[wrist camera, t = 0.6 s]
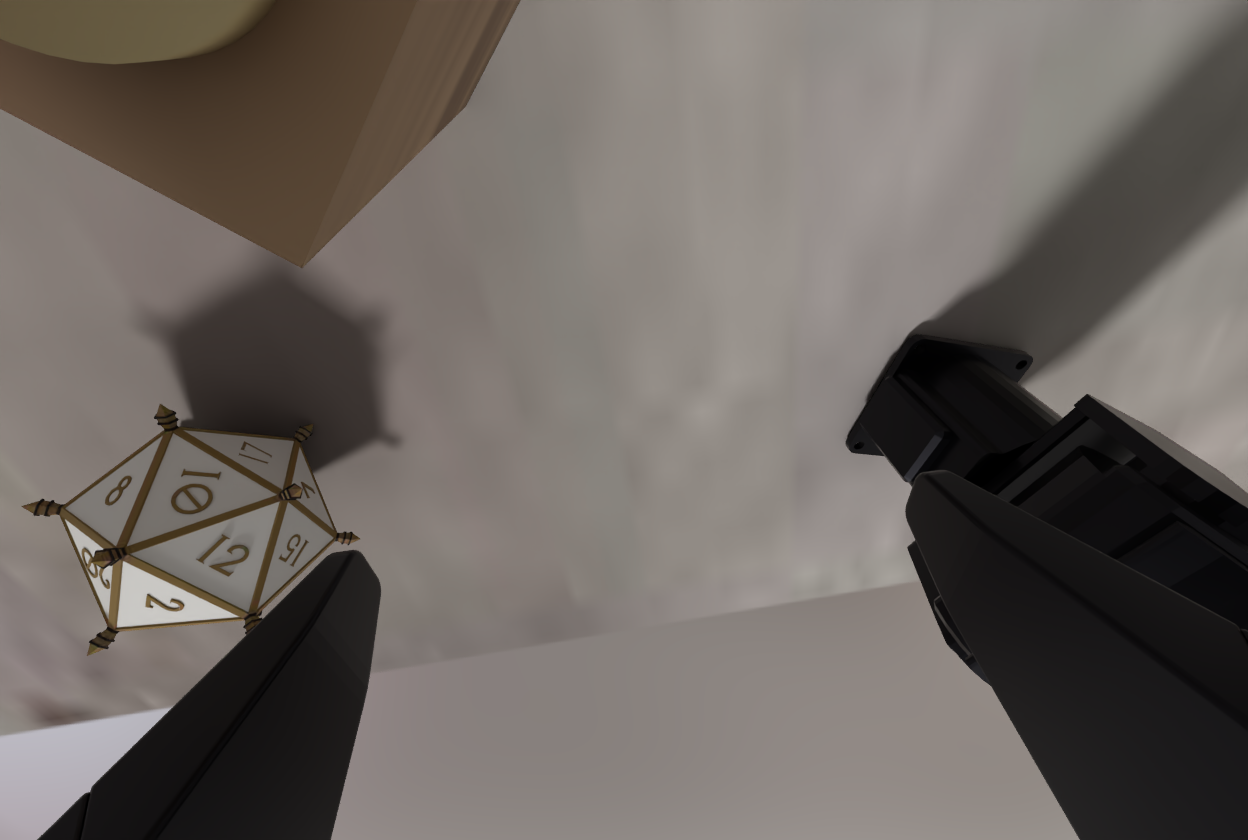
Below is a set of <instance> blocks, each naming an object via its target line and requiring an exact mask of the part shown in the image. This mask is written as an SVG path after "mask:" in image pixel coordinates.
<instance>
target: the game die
mask: <svg viewBox="0 0 1248 840" xmlns="http://www.w3.org/2000/svg"><path fill="white" fill-rule="evenodd" d="M175 414H176V412H174V411H172V410H169V409H167V408H166V407H164V406H163V405H161V404H160V405H159V408H158V412H157V414H156V415H155V417H154V419H157V420H158V423H157V424H158V425H161V426H162V427H163V428H164V431H162V432H161V433H160V434H158V435H157V436H156V437H154V438H153V439H151V440H150V441H149V442H147V443H146V444H145V445H143V446H142V447H141V448H139V449H138V450H137V451H135V452H134V453H133V454H131V455H130V456H129V457H127V458H126V459H125V460H123V461H122V462H121V463H119V464H118V465H117V466H115V467H114V468H113V469H111V470H110V471H109V472H107V473H106V474H105V475H103V476H102V477H101V478H99V479H98V480H97V481H95V482H94V483H93V484H91V485H90V486H89V487H87V488H86V489H85V490H83V491H82V492H81V493H79V494H78V495H77V496H75V497H74V498H73V499H71V500H70V501H69V502H67V503H66V504H63V505H60V504H57V503H55V502H54V500H52V501H51V502H49V501H44V499H41V500H40V501H38V502H34V503H31V504H28V505H24V506H21V507H23V508H25V509H27V510H28V511H30V512H32V513H33V514H34V516H39V515H44V516H50V515H60V517H61V520H62V522H63V524H64V527H65V529H66V531H67V533H68V536H69V538H70V540H71V543H72V545H73V547H74V550H75V552H76V554H77V557H78V559H79V561H80V564H81V566H82V568H83V570H84V573H85V575H86V577H87V580H88V582H89V584H90V587H91V589H92V591H93V594H94V596H95V598H96V600H97V603H98V605H99V607H100V610H101V612H102V614H103V617H104V619H105V621H106V624H107V626H108V627H107V629H106V630H105V631H103V632H102V633H101V632H100V633H98V634H97V635H96V636H97V637H96V638H95V639H92V640H90V641H89V643H90V646H89V650H88V654H87V656H88V655H91V654H93V653H96V652H98V651H101V650H103V649H108V648H109V647H108V645H109V644H110V643H111V642H114V641H115V640H114V638H115V636H116V634H117V633H118V632H120V631H131V630H142V629H153V628H164V627H176V626H187V625H198V624H209V623H220V622H231V621H242V620H245V626H243V627H244V628H245V629H246V631H247V632H245V634H248V633H249V632H250V631H251V630H252V629H253V628H254V627H255V626H256V625H257V624H258V623H259V622H260V621H261V620H262V618H259V616H260V615H261V614H262V610H263V609H264V608H265V607H266V606H267V605H268V604H269V603H270V602H271V601H272V600H273V599H274V598H275V597H277V596H278V595H279V594H280V593H281V592H282V591H283V590H284V589H285V588H286V587H287V586H288V585H289V584H290V583H291V582H292V581H293V580H294V579H296V578H297V577H298V576H299V575H300V574H301V573H302V572H303V571H304V570H305V569H306V568H307V567H308V566H309V565H310V564H311V563H312V562H313V561H314V560H316V559H317V558H318V557H319V556H320V555H321V554H322V553H323V552H324V551H325V550H326V549H327V548H328V547H329V546H330V545H331V544H332V543H333V542H335V541H338V542H341V544H343V543H346V544H348V545H349V544H350V543H352V542H355V541H357V540H359V539H360V538H358V537H357V536H356V535H354V534H353V532H350V533H346V532H344V533H337V531H336V529H335V526H334V524H333V521H332V519H331V517H330V514H329V512H328V509H327V507H326V504H325V502H324V499H323V497H322V495H321V492H320V490H319V487H318V485H317V482H316V480H315V477H314V475H313V473H312V470H311V468H310V465H309V463H308V460H307V458H306V455H305V453H304V451H303V448H302V446H301V442H302V441H303V440H307V438H308V436H309V435H310V436H311V435H312V433H311V432H312V428H313V424H311V425H307V426H303V427H301V426H300V427H299V428H300V429H299V430H298V431H295V432H296V434H295V436H294V437H293V438H287V437H277V436H267V435H257V434H247V433H237V432H227V431H218V430H208V429H198V428H188V427H178V426H177V421H178V418H176V417H175Z"/></svg>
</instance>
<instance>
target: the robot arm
mask: <svg viewBox="0 0 1248 840" xmlns="http://www.w3.org/2000/svg"><path fill="white" fill-rule="evenodd" d="M918 345H920V346H919V347H918V348H916V347H917V346H918ZM915 348H916V349H915ZM1032 362H1033V358H1032V357H1031V356H1030V355H1028V354H1027V353H1026V352H1024V351H1019V350H1013V349H1007V348H1001V347H995V346H989V345H982V344H976V343H970V342H964V341H958V340H952V339H945V338H939V337H933V336H927V335H915V336H912V337H911V338H909V339H908V340H907V341H906V343H905V344H904V346H903V347H902V349H901V351H900V352H899V354H898V356H897V357H896V359H895V361H894V362H893V364H892V366H891V367H890V369H889V370H888V372H887V374H886V375H885V377H884V379H883V380H882V382H881V384H880V385H879V387H878V389H877V390H876V392H875V394H874V395H873V397H872V398H871V400H870V402H869V403H868V405H867V407H866V408H865V410H864V412H863V413H862V415H861V417H860V418H859V420H858V422H857V423H856V425H855V427H854V428H853V430H852V431H851V433H850V435H849V436H848V438H847V440H846V446H847V447H848V449H849V450H850V451H851V452H852V453H858V454H868V455H878V456H885V457H886V458H887V460H888V461H889V462H890V464H891V465H892V466H893V467H894V469H895V470H896V471H897V473H898V474H899V475H900V476H901V478H902V479H903V480H904V481H905V482H909V483H910V485H911V486H912V490H911V493H910V496H909V499H908V502H907V504H906V511H905V512H906V518H907V522H908V524H909V526H910V529H911V531H912V533H913V535H914V538H915V541H914V542H913V543H912V544H910V545H909V546H908V547H907V548H908V551H909V553H910V556H911V558H912V561H913V563H914V566H915V568H916V571H917V573H918V576H919V578H920V581H921V583H922V586H923V588H924V591H925V593H926V596H927V598H928V601H929V603H930V606H931V608H932V611H933V613H934V615H935V618H936V620H937V623H938V625H939V627H940V629H941V632H942V634H943V637H944V639H945V641H946V643H947V645H948V646H949V647H950V648H951V649H952V650H953V651H954V652H956V653H957V654H958V656H959V657H960V658H961V659H962V660H963V661H964V662H965V664H966V665H967V666H968V667H969V668H970V669H971V670H972V671H973V672H974V673H976V674H977V675H978V676H979V677H980V678H981V679H982V680H983V681H985V682H986V683H988V684H989V685H990V686H991V687H992V688H993V690H994V692H995V694H996V695H997V697H998V699H999V701H1000V702H1001V704H1002V706H1003V708H1004V709H1005V711H1006V712H1007V714H1008V716H1009V718H1010V720H1011V721H1012V723H1013V725H1014V727H1015V728H1016V730H1017V732H1018V734H1019V735H1020V737H1021V739H1022V740H1023V742H1024V744H1025V746H1026V747H1027V749H1028V751H1029V752H1030V754H1031V756H1032V758H1033V760H1034V761H1035V763H1036V765H1037V766H1038V768H1039V770H1040V772H1041V773H1042V775H1043V777H1044V779H1045V780H1046V782H1047V784H1048V785H1049V787H1050V789H1051V791H1052V792H1053V794H1054V796H1055V798H1056V799H1057V801H1058V803H1059V805H1060V806H1061V808H1062V810H1063V811H1064V813H1065V815H1066V817H1067V818H1068V820H1069V822H1070V824H1071V825H1072V827H1073V829H1074V831H1075V832H1076V834H1077V836H1078V837H1079V839H1080V840H1248V493H1247V492H1245V491H1244V490H1243V489H1242V488H1240V487H1239V486H1238V485H1237V484H1235V483H1234V482H1233V481H1232V480H1230V479H1229V478H1228V477H1227V476H1225V475H1224V474H1223V473H1221V472H1220V471H1219V470H1217V469H1216V468H1214V467H1213V466H1211V465H1209V464H1208V463H1206V462H1205V461H1203V460H1202V459H1200V458H1199V457H1197V456H1195V455H1194V454H1192V453H1191V452H1189V451H1188V450H1186V449H1185V448H1183V447H1182V446H1180V445H1178V444H1177V443H1175V442H1174V441H1172V440H1171V439H1169V438H1168V437H1166V436H1164V435H1163V434H1161V433H1160V432H1158V431H1156V430H1155V429H1153V428H1151V427H1149V426H1147V425H1145V424H1143V423H1142V422H1140V421H1138V420H1136V419H1134V418H1132V417H1130V416H1128V415H1127V414H1125V413H1123V412H1121V411H1119V410H1117V409H1115V408H1113V407H1111V406H1110V405H1108V404H1106V403H1104V402H1102V401H1100V400H1098V399H1096V398H1094V397H1093V396H1091V395H1089V394H1086V395H1085V396H1084V397H1083V398H1082V399H1080V400H1079V401H1078V402H1077V403H1076V404H1075V405H1074V406H1075V408H1074V409H1073V410H1072V411H1071V412H1069V413H1068V414H1067V415H1066V416H1065V417H1064V418H1062V417H1061V416H1060V415H1058V414H1057V413H1056V412H1054V411H1053V410H1052V409H1050V408H1049V407H1048V406H1047V405H1045V404H1044V403H1043V402H1041V401H1040V400H1039V399H1037V398H1036V397H1035V396H1033V395H1032V394H1031V393H1030V392H1028V391H1027V390H1026V389H1024V388H1023V387H1022V386H1020V385H1019V384H1018V383H1017V382H1018V381H1019V380H1020V378H1021V377H1022V376H1023V375H1024V373H1025V372H1026V371H1027V370H1028V368H1029V367H1030V366H1031V364H1032ZM856 443H857V444H856ZM380 597H381V586H380V582H379V579H378V577H377V576H376V574H375V573H374V571H373V570H372V568H371V567H370V565H369V563H368V562H367V560H366V559H365V557H364V556H363V554H362V553H361V552H359V551H357V550H349V551H342V552H335V553H332V554H330V555H328V556H327V557H326V558H325V559H324V560H322V561H321V562H320V563H319V564H318V565H317V566H316V567H315V568H314V569H313V570H312V571H311V572H310V573H309V574H308V575H307V576H306V577H305V578H304V579H303V580H302V581H301V582H300V583H299V584H298V585H297V586H296V587H295V588H294V589H293V590H292V591H291V592H290V593H289V594H288V595H287V596H286V597H285V598H284V599H283V600H282V601H281V602H280V603H279V604H278V605H277V606H276V607H275V608H274V609H273V610H271V611H270V612H269V613H268V614H267V615H266V616H265V617H264V618H263V619H262V620H261V621H260V622H259V623H258V624H257V625H256V626H255V627H254V628H253V629H252V630H251V631H250V632H249V633H248V634H247V635H246V636H245V637H244V638H243V639H242V640H241V641H240V642H239V643H238V644H237V645H236V646H235V647H234V648H233V649H232V650H231V651H230V652H229V653H228V654H227V655H226V656H225V657H224V658H223V659H222V660H220V661H219V662H218V663H217V664H216V665H215V666H214V667H213V668H212V669H211V670H210V671H209V672H208V673H207V674H206V675H205V676H204V677H203V678H202V679H201V680H200V681H199V682H198V683H197V684H196V685H195V686H194V687H193V688H192V689H191V690H190V691H189V692H188V693H187V694H186V695H185V696H184V697H183V698H182V699H181V700H180V701H179V702H178V703H177V704H176V705H175V706H174V707H173V708H172V709H171V710H169V711H168V713H167V714H165V715H164V716H163V717H162V718H161V720H159V721H158V722H157V723H156V724H155V725H154V726H153V727H152V728H151V729H150V730H149V731H148V732H147V733H146V734H145V735H144V736H143V737H142V738H141V739H140V740H139V741H138V742H137V743H136V744H135V745H134V746H133V747H132V748H131V749H130V750H129V751H128V752H127V753H126V754H125V755H124V756H123V757H122V758H121V759H120V760H119V761H117V763H115V764H114V765H113V766H112V767H111V768H110V769H109V771H107V772H106V773H105V774H104V775H103V776H102V777H101V778H100V779H99V780H98V781H97V782H96V783H95V784H94V785H93V786H92V788H91V791H90V792H88V793H85V794H84V795H83V796H82V797H80V799H78V800H77V801H76V802H75V804H74V805H72V806H71V807H70V808H69V809H68V810H67V811H66V812H65V813H64V814H63V815H62V816H61V817H60V818H59V819H58V820H57V821H56V822H55V823H54V824H53V825H52V826H51V827H50V828H49V829H48V830H47V831H46V832H45V833H44V834H43V835H41V837H39V838H38V839H37V840H331V836H332V832H333V828H334V824H335V820H336V816H337V812H338V807H339V804H340V800H341V796H342V791H343V787H344V783H345V779H346V775H347V771H348V767H349V763H350V759H351V755H352V751H353V747H354V743H355V739H356V735H357V731H358V727H359V723H360V718H361V715H362V711H363V707H364V702H365V698H366V693H367V689H368V683H369V677H370V671H371V663H372V656H373V649H374V641H375V634H376V627H377V619H378V612H379V605H380Z"/></svg>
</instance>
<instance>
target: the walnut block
mask: <svg viewBox="0 0 1248 840" xmlns="http://www.w3.org/2000/svg"><path fill="white" fill-rule="evenodd" d="M519 2H520V0H0V109H2V110H4V111H6V112H8V113H10V114H11V115H13V116H15V117H17V118H19V119H21V120H23V121H25V122H27V123H28V124H30V125H32V126H34V127H36V128H38V129H40V130H42V131H44V132H45V133H47V134H49V135H51V136H53V137H55V138H57V139H59V140H61V141H62V142H64V143H66V144H68V145H70V146H72V147H74V148H76V149H78V150H79V151H81V152H83V153H85V154H87V155H89V156H91V157H93V158H95V159H96V160H98V161H100V162H102V163H104V164H106V165H108V166H110V167H112V168H114V169H115V170H117V171H119V172H121V173H123V174H125V175H127V176H129V177H131V178H132V179H134V180H136V181H138V182H140V183H142V184H144V185H146V186H148V187H149V188H151V189H153V190H155V191H157V192H159V193H161V194H163V195H165V196H166V197H168V198H170V199H172V200H174V201H176V202H178V203H180V204H182V205H183V206H185V207H187V208H189V209H191V210H193V211H195V212H197V213H199V214H200V215H202V216H204V217H206V218H208V219H210V220H212V221H214V222H216V223H218V224H219V225H221V226H223V227H225V228H227V229H229V230H231V231H233V232H235V233H236V234H238V235H240V236H242V237H244V238H246V239H248V240H250V241H252V242H253V243H255V244H257V245H259V246H261V247H263V248H265V249H267V250H269V251H270V252H272V253H274V254H276V255H278V256H280V257H282V258H284V259H286V260H287V261H289V262H291V263H293V264H295V265H297V266H299V267H301V268H303V267H304V266H305V265H306V264H307V263H308V262H309V261H310V260H311V259H312V258H313V257H314V256H315V255H316V254H317V253H318V252H319V251H320V250H321V249H322V248H323V247H324V246H325V245H326V244H327V243H328V242H329V241H330V240H331V239H332V238H333V237H334V236H335V235H336V234H337V233H338V232H339V231H340V230H341V229H342V228H343V227H344V226H345V225H346V224H347V223H348V222H349V221H350V220H351V219H352V218H353V217H354V216H355V215H356V214H357V213H358V212H359V211H360V210H361V209H362V208H363V207H364V206H365V205H366V204H367V203H368V202H369V201H370V200H371V199H372V198H373V197H374V196H376V195H377V194H378V193H379V192H380V191H381V190H382V189H383V188H384V187H385V186H386V185H387V184H388V183H389V182H390V181H391V180H392V179H393V178H394V177H395V176H396V175H397V174H398V173H399V172H400V171H401V170H402V169H403V168H404V167H405V166H406V165H407V164H408V163H409V162H410V161H411V160H412V159H413V158H414V157H415V156H416V155H417V154H418V153H419V152H420V151H421V150H422V149H423V148H424V147H425V146H426V145H427V144H428V143H429V142H430V141H431V140H432V139H433V138H434V137H435V136H436V135H437V134H438V133H439V132H440V131H441V130H442V129H443V128H444V127H445V126H446V125H447V124H448V123H449V122H450V121H451V120H452V119H453V118H454V117H455V116H456V115H457V114H459V113H460V112H461V111H462V110H463V109H464V108H465V107H466V105H467V103H468V101H469V99H470V97H471V95H472V93H473V91H474V89H475V87H476V85H477V84H478V82H479V80H480V78H481V76H482V74H483V72H484V70H485V68H486V66H487V64H488V62H489V60H490V58H491V56H492V54H493V52H494V51H495V49H496V47H497V45H498V43H499V41H500V39H501V37H502V35H503V33H504V31H505V29H506V27H507V25H508V23H509V21H510V19H511V18H512V16H513V14H514V12H515V10H516V8H517V6H518V4H519Z"/></svg>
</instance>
